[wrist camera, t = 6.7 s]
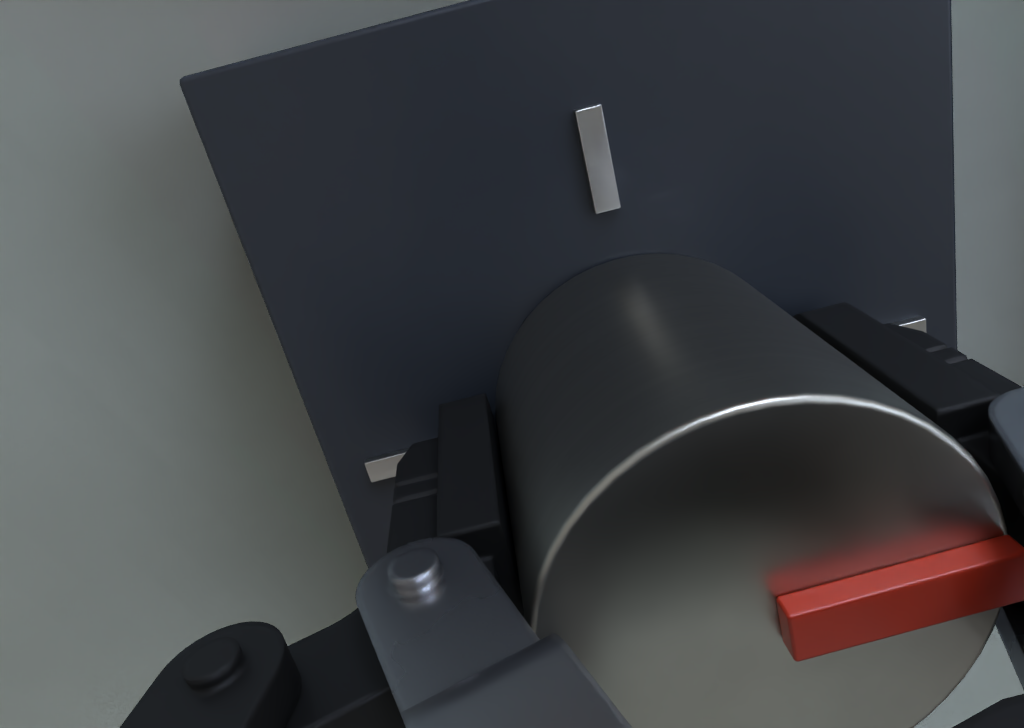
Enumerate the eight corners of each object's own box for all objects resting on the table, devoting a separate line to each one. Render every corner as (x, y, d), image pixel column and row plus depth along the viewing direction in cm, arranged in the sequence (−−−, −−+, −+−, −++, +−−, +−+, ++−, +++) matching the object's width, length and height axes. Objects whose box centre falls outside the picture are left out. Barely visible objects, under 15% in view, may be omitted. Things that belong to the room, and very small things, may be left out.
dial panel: (235, 73, 12) (171, 78, 9) (836, -87, 12) (960, -132, 9) (438, 635, 17) (436, 756, 14) (878, 523, 17) (968, 621, 14)
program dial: (537, 557, 13) (596, 871, 8) (458, 302, 11) (469, 501, 6) (805, 482, 13) (1036, 753, 8) (770, 213, 11) (1036, 344, 6)
